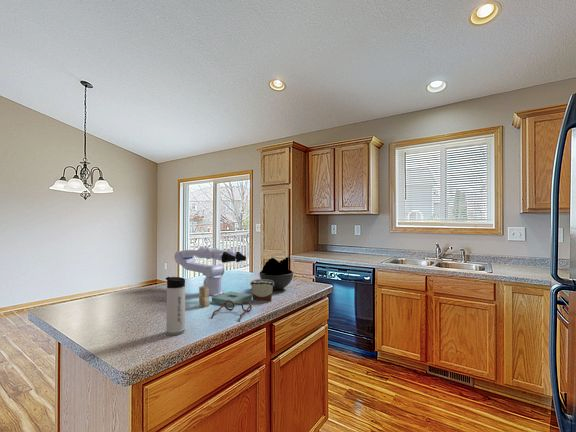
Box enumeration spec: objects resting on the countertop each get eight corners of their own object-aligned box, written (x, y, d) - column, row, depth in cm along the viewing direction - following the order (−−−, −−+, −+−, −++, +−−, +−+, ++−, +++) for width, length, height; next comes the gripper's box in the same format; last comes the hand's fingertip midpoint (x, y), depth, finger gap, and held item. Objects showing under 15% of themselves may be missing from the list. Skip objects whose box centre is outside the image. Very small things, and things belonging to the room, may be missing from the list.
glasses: (252, 312, 127) (252, 301, 127) (239, 323, 115) (239, 310, 115) (225, 310, 131) (225, 299, 131) (210, 319, 118) (210, 307, 118)
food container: (275, 298, 149) (276, 279, 149) (274, 301, 143) (274, 281, 143) (252, 297, 150) (252, 278, 150) (249, 301, 144) (250, 281, 144)
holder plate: (211, 302, 141) (211, 297, 141) (230, 296, 153) (230, 291, 153) (233, 306, 134) (233, 301, 134) (251, 299, 146) (251, 294, 146)
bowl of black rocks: (255, 292, 160) (255, 259, 161) (264, 284, 180) (264, 254, 180) (290, 294, 157) (290, 260, 157) (295, 286, 177) (295, 255, 177)
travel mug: (168, 329, 107) (169, 275, 107) (186, 328, 107) (187, 275, 108) (162, 336, 101) (163, 279, 101) (182, 335, 101) (182, 278, 101)
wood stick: (199, 306, 136) (199, 287, 136) (202, 304, 138) (203, 286, 138) (205, 307, 134) (205, 288, 134) (208, 306, 136) (209, 287, 136)
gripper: (212, 247, 149) (231, 250, 141) (232, 248, 161) (250, 251, 153) (211, 261, 149) (229, 265, 141) (231, 260, 161) (249, 264, 153)
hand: (240, 258), depth 147 cm, fingers open, 7 cm apart
